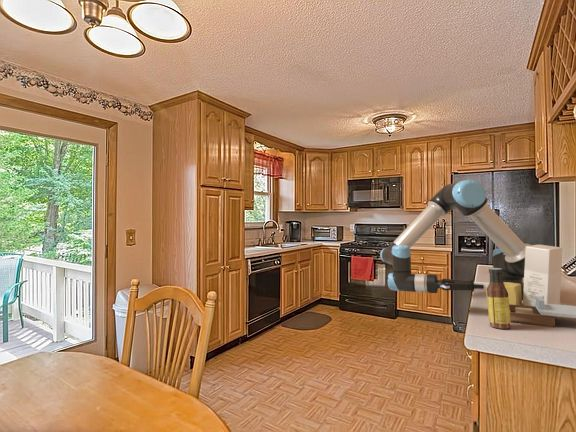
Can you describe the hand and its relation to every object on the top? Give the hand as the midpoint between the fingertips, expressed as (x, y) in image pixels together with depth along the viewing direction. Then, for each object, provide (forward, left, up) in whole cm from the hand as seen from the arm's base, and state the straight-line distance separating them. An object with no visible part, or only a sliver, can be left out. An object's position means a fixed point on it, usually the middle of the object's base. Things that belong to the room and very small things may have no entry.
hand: (493, 286), depth 126 cm
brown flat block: (0, +11, -11) cm, 15 cm away
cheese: (-17, +5, -11) cm, 21 cm away
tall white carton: (-18, +17, -11) cm, 27 cm away
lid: (0, +20, -7) cm, 21 cm away
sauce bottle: (+14, +1, -11) cm, 18 cm away
